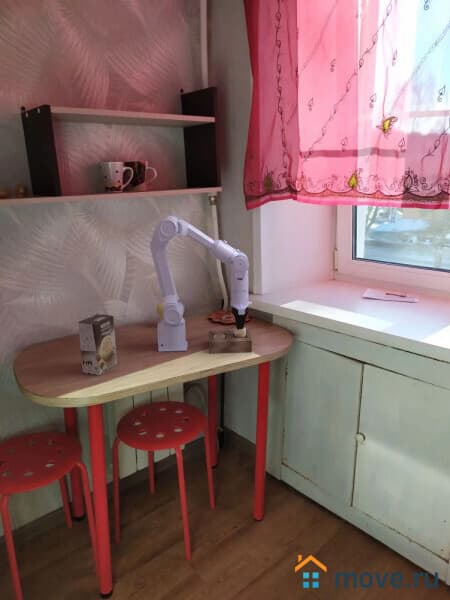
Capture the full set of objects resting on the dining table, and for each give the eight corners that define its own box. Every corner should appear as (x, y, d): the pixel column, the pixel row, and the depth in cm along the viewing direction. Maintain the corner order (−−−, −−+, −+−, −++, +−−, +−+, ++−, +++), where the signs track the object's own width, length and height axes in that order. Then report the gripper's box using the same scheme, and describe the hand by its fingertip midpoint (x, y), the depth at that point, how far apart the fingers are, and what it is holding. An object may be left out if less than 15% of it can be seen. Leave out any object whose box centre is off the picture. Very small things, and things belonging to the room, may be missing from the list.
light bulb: (154, 328, 178) (152, 303, 175) (163, 323, 183) (162, 298, 181) (167, 330, 175) (166, 305, 172) (177, 325, 181) (176, 300, 178)
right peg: (234, 340, 156) (234, 330, 155) (233, 336, 159) (233, 326, 158) (246, 340, 156) (246, 330, 155) (245, 336, 160) (245, 326, 159)
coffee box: (100, 376, 137) (95, 324, 132) (82, 373, 139) (77, 322, 135) (117, 364, 145) (113, 315, 141) (100, 361, 147) (96, 313, 143)
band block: (209, 353, 153) (209, 342, 152) (209, 341, 163) (208, 330, 162) (251, 352, 153) (251, 340, 152) (248, 340, 164) (248, 329, 163)
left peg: (213, 347, 156) (213, 338, 155) (213, 343, 160) (213, 333, 159) (225, 347, 156) (225, 337, 155) (225, 343, 160) (224, 333, 159)
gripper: (254, 295, 146) (254, 335, 150) (249, 284, 160) (249, 321, 164) (231, 295, 146) (232, 336, 149) (229, 284, 160) (229, 322, 163)
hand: (240, 328), depth 157 cm, fingers closed, pressing on right peg
